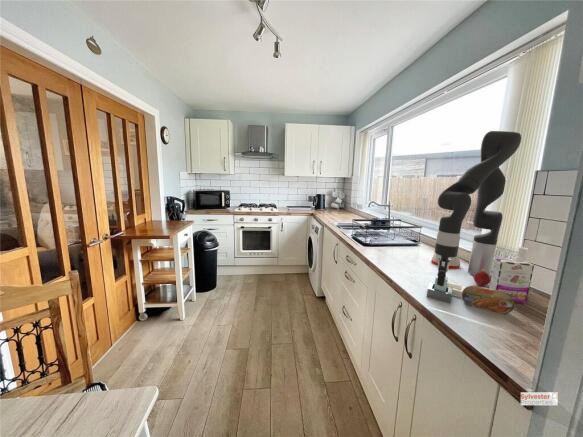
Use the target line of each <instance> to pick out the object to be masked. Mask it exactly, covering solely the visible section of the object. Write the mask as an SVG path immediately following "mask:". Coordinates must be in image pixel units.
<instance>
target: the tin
mask: <svg viewBox="0 0 583 437" xmlns="http://www.w3.org/2000/svg"><path fill="white" fill-rule="evenodd" d="M461 299H462V300H463V302H464V304H465V305H466V306H468V307H473V308H478V309H481V310H485V311H489V312H494V313H498V314H502V315H507V314H510V313H511V312H512V311H513V310H514V309H515V302H514V301H513V299H512V298H511V297H510V296H509V295H508V294H507V293H505V292H503V291H500V290H495V289H490V287H489V288H488V287H484V286H479V285H468V286H466V287H464V290H463V292H462V298H461Z"/></svg>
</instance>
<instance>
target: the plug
mask: <svg viewBox="0 0 583 437" xmlns="http://www.w3.org/2000/svg"><path fill="white" fill-rule="evenodd" d="M437 280H438V275H437V274H436V276H435V280H434V283H435V285H434V289H436V290H439V291H443V292H446V287H447V282H448V280H449V277H447V276H446V277H445V280H444V286H439V285H437Z"/></svg>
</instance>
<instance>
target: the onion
mask: <svg viewBox="0 0 583 437" xmlns="http://www.w3.org/2000/svg"><path fill="white" fill-rule="evenodd" d="M473 280H474V282H475V284H476V285H477V286H479V287H484V286H488V285H490V283H491V276H490V277H489V275H488V274H487V273H486V272H485V270H482V271H481V272H478V273H476V274H475V275H473Z"/></svg>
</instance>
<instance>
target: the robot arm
mask: <svg viewBox="0 0 583 437" xmlns="http://www.w3.org/2000/svg"><path fill="white" fill-rule="evenodd" d="M521 142H522V134H521V133H519V132H516V131H504V130H502V131H501V130H490V131H488V132H486V133H485V134H484V136H483V137H482V140H481V143H480V144H481V145H480V162H479V163H476V164H474V165H473V166H471V167H470V168H468V169H466V171H465V172H463V174H462V175H461V176H460V178H459V179H458V180H457V181H456V182H455V183H452V184H451V185H450V186H449V187H446V189H444V190H443V191H442V192H441V193H440V195H439V196H438V198H437V205H438V207H439V208H441V209H443V210H449V211H452V213H451V214H450V215H443V216H441V217H440V220H439V225H438V230H437V234H436V240H435V246H434V253H436V254H438V255H441V257H439V259H438V266H437V271H438V272H437V274H436V275H438V280H437V285H439V286H444V280H445V277H447V273H448V271H449V265H450V261H451V259H449V257H456V256H457V253H458V254H459V246H460V239H461V231H462V230H461V229H462V224H463V222H464V219H465V218H466V215H467V213H468V212H469V210H470V208H471V205H472V197H471V195H472V194H474V193H476V192H477V195H476V196H477V197H476V205H475V210H474V213H473V222H472V223H473V226H474V227H475V228H478V229H482V230H489V232H485V233H481V234H476V235H474V236H473V239H472V240H473V241H472V246H471V250H470V251H471V252H470V256H469V262H468V267H467V273H468V274H470V275H472V276H474V275H475V274H476V273H478V272H481V271H482V270H485V272H486V273H487V274H488V275H489V277H490V278H491V275H492V271H493V266H494V260H495V254H496V248H497V243H498V236H499V232H500V229H501V225H502V223H503V222H502V221H503V213H502V212H501V211H496V210H495V211H494V210H493V211H492V210H486V208H488V206H489V205H491V204H492V203H495V201H497V200H498V199H499V198H501V196H502V195H503V194H504V191H505V187H506V183H507V182H506V176H505V175H504V173H503V171H502V170H501V168H500V166H502V165H503V164H504V163H505V162H507V161H508V160H509V159H510V158H511V157H512V156H513V155H514V154H515V153H516V152H517V150H518V149H519V147H520V145H521Z"/></svg>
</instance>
